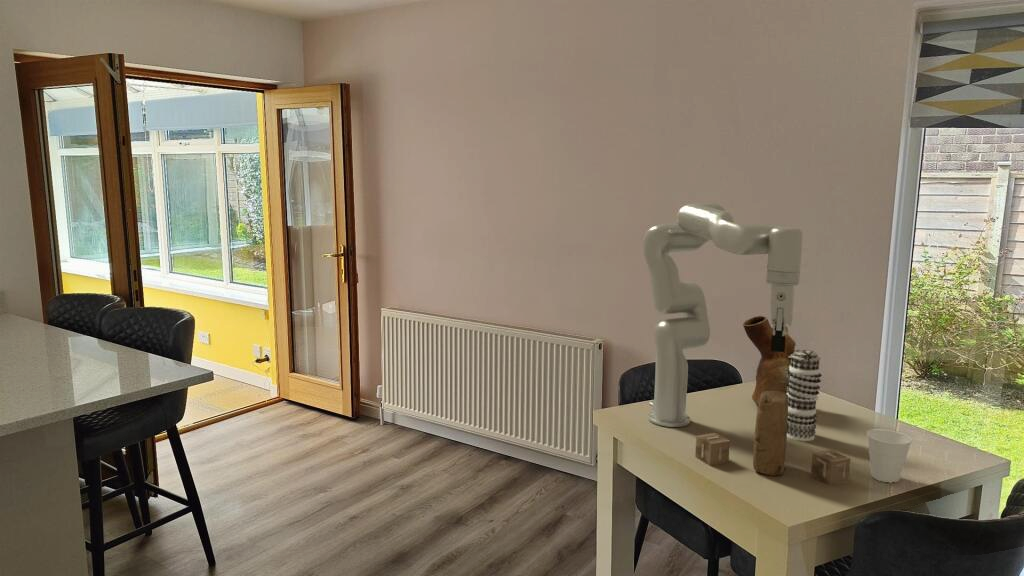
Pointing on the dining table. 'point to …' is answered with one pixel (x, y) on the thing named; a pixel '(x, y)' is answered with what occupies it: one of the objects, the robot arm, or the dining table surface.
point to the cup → (887, 454)
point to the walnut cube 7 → (830, 467)
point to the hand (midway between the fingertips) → (777, 350)
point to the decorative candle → (802, 394)
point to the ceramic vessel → (769, 357)
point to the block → (771, 433)
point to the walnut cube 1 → (712, 449)
